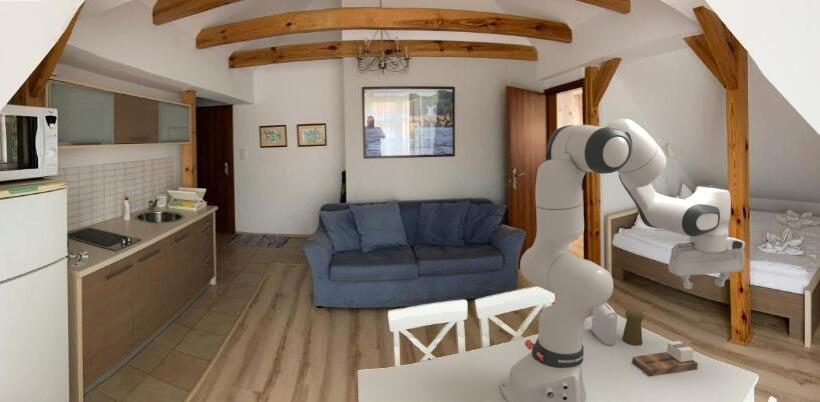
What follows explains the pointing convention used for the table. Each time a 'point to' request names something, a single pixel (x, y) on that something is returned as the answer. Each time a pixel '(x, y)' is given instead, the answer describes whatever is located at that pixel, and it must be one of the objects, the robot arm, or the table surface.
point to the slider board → (662, 364)
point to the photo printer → (604, 324)
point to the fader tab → (680, 351)
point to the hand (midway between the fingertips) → (703, 287)
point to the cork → (633, 327)
